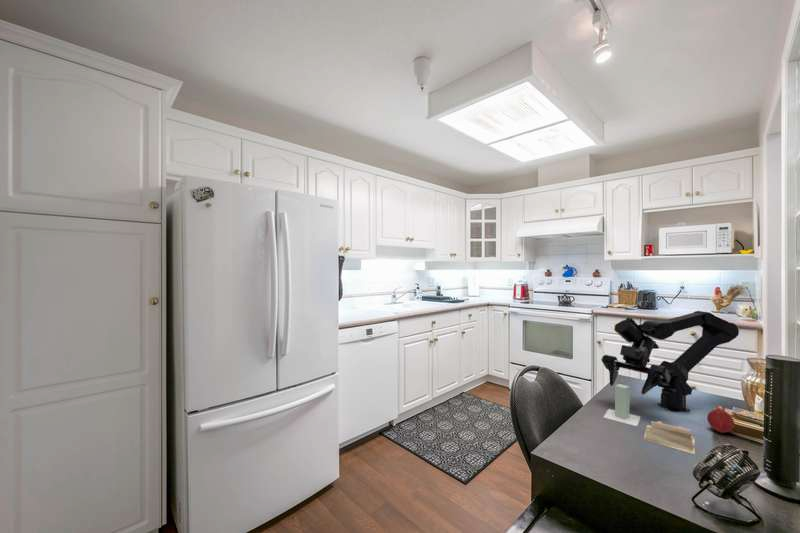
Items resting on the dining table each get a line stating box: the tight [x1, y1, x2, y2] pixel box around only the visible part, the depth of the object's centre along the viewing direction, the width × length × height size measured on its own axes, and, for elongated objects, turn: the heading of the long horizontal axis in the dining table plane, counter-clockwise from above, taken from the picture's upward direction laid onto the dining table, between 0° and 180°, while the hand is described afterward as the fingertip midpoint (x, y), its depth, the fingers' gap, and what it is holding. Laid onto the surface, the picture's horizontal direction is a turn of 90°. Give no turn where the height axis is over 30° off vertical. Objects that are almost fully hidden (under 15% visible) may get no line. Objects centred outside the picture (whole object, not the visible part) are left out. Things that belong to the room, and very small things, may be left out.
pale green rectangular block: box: [614, 383, 631, 420], centre depth 109 cm, size 3×3×10 cm
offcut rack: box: [642, 420, 696, 455], centre depth 95 cm, size 12×11×5 cm
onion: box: [706, 405, 735, 434], centre depth 100 cm, size 6×6×8 cm
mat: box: [603, 408, 641, 427], centre depth 109 cm, size 9×9×1 cm
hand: (626, 389), depth 110 cm, fingers open, 9 cm apart
